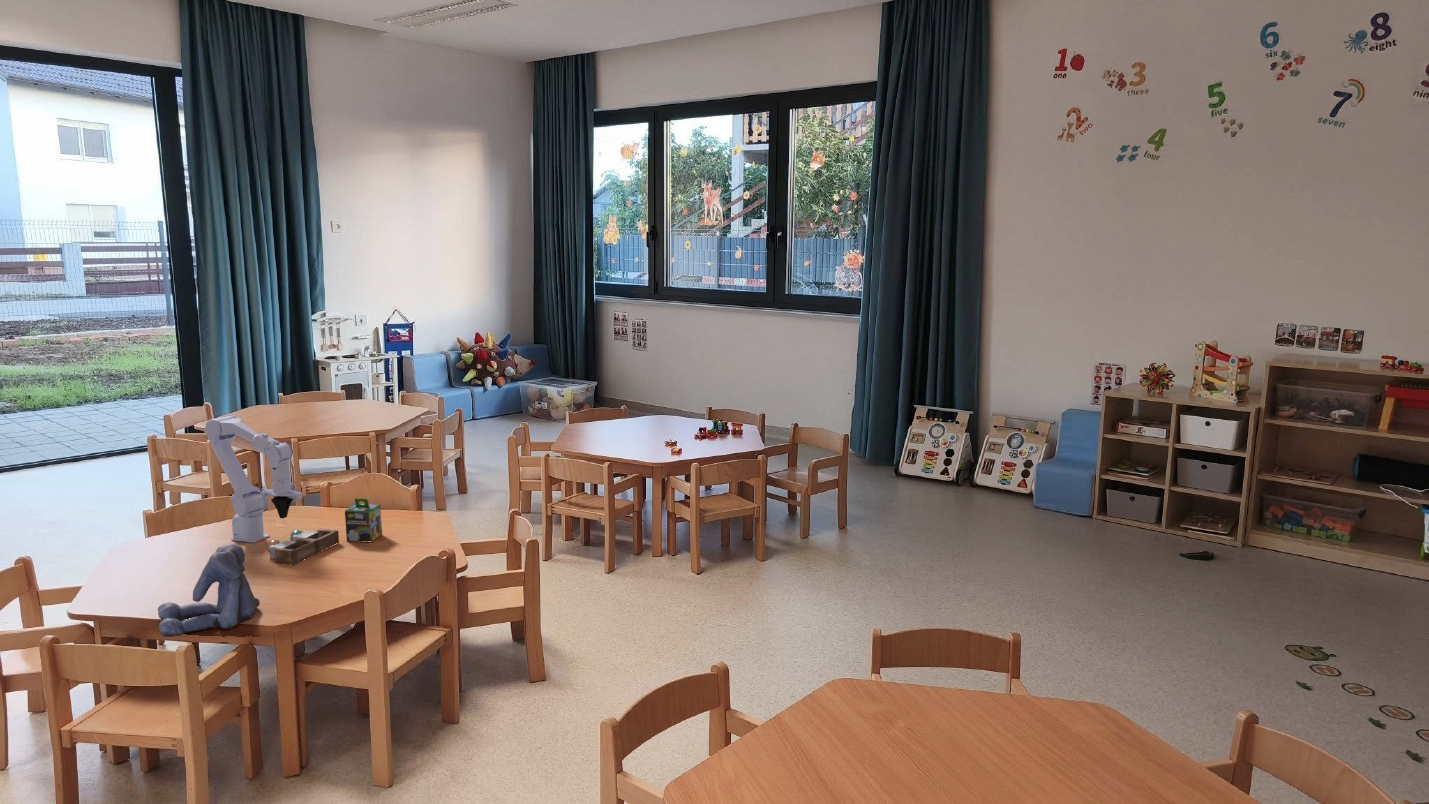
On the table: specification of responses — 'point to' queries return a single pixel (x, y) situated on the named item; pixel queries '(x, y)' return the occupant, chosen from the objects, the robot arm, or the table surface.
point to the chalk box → (363, 521)
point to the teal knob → (303, 535)
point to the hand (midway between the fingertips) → (283, 517)
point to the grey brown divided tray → (307, 547)
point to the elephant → (232, 597)
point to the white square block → (280, 546)
